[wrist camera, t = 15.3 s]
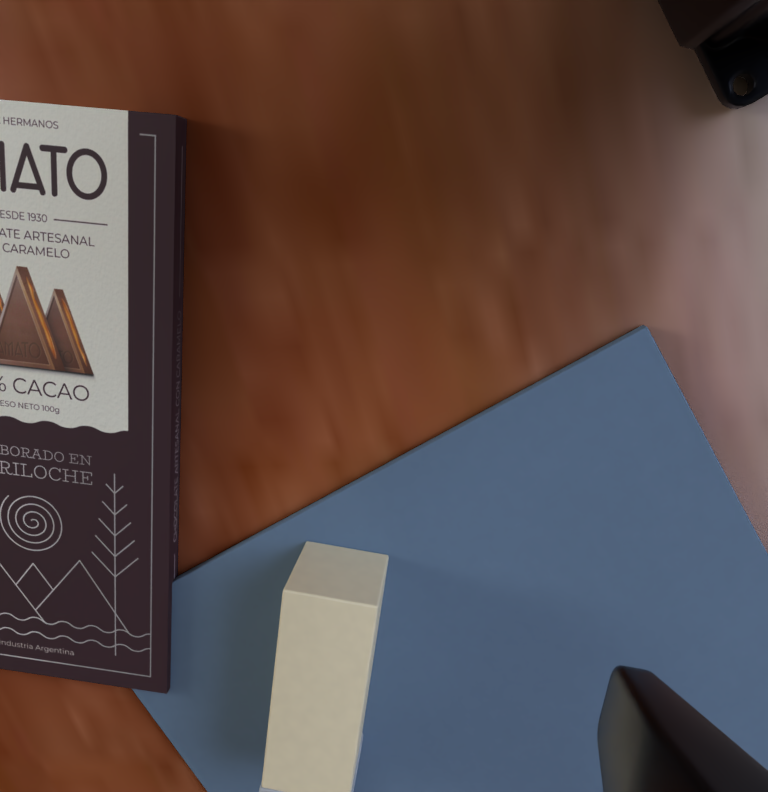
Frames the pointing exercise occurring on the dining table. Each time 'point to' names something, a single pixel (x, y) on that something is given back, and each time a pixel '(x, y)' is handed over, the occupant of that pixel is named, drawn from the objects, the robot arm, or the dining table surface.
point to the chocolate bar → (90, 390)
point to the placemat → (502, 593)
